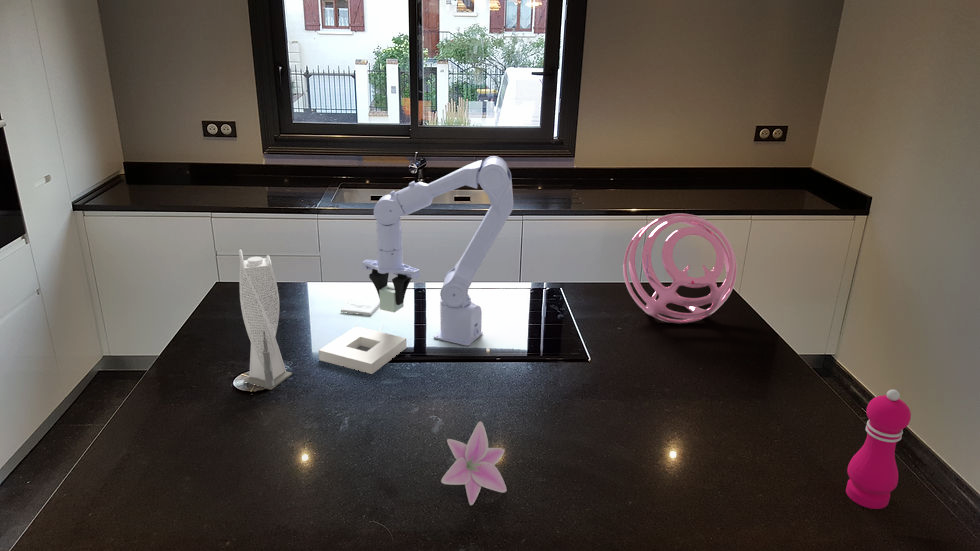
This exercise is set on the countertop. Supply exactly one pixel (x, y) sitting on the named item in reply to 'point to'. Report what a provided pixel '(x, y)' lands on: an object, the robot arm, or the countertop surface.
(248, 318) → the skyscraper
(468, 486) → the lily
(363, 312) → the external hard drive
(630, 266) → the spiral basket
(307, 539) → the countertop surface
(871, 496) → the pepper mill
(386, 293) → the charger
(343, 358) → the outlet plate
